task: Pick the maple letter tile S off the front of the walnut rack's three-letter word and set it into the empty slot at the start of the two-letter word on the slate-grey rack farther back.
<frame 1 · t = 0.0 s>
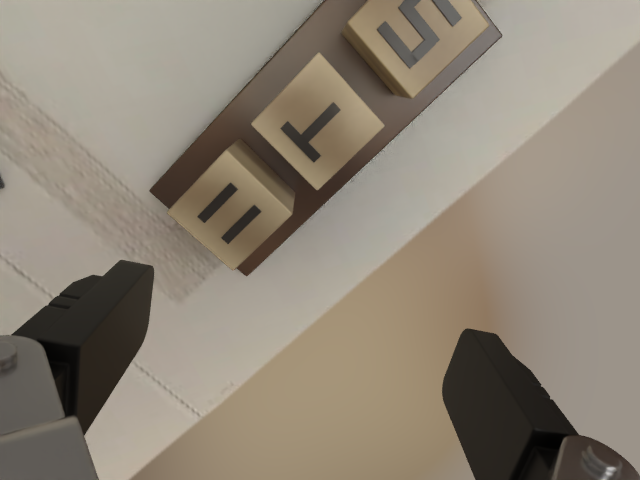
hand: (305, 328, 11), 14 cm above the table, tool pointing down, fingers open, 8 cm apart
letter S: (399, 33, 21), point 1 cm above the table, touching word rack
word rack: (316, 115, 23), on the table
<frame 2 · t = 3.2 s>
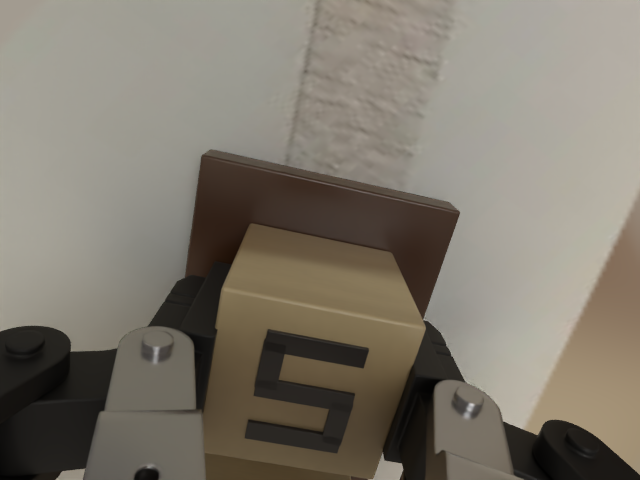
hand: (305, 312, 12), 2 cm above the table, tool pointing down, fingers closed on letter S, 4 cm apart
letter S: (306, 301, 13), point 1 cm above the table, touching gripper, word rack
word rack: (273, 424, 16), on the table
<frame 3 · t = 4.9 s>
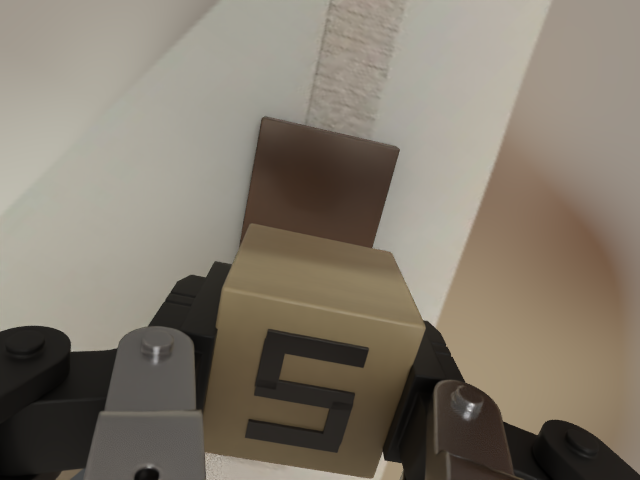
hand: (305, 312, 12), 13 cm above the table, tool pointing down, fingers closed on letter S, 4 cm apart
letter S: (306, 300, 13), point 12 cm above the table, touching gripper
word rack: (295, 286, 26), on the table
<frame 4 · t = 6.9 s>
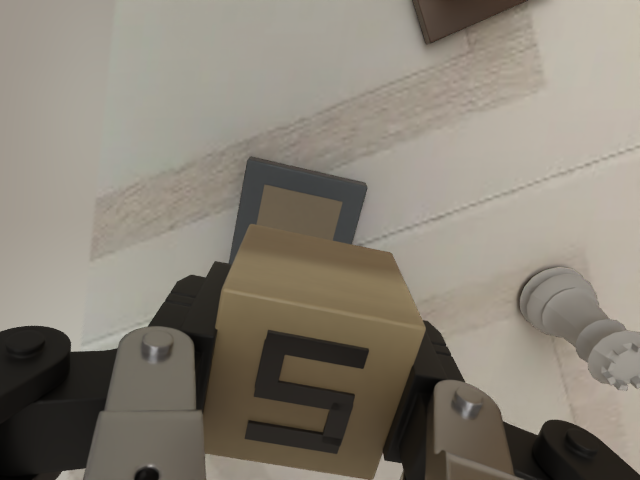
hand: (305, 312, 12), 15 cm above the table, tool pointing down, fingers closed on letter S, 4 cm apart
letter S: (306, 301, 13), point 15 cm above the table, touching gripper
rook chess piece: (548, 293, 30), on the table
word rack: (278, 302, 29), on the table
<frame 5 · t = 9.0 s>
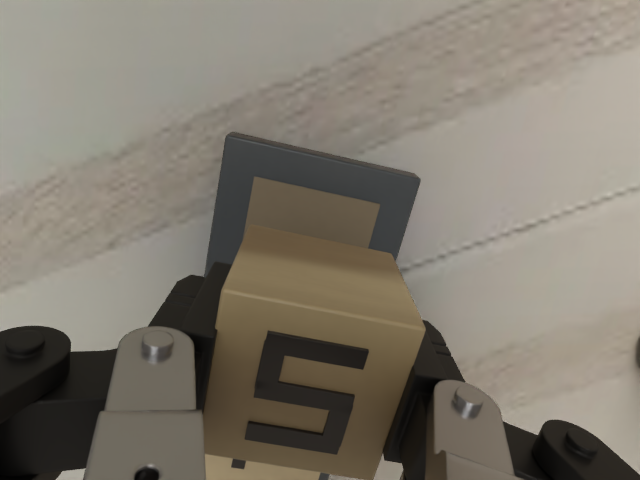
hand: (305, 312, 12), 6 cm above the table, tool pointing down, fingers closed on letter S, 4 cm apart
letter S: (306, 301, 13), point 5 cm above the table, touching gripper
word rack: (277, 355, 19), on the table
when the fingers open (2 cm above the table, at t = 10.5 s): letter S stays where it is, resting on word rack.
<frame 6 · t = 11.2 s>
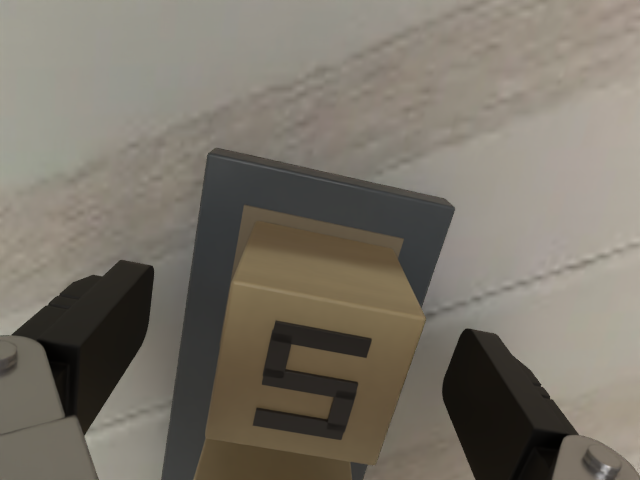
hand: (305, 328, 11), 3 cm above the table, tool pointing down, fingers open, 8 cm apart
letter S: (310, 296, 13), point 1 cm above the table, touching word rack
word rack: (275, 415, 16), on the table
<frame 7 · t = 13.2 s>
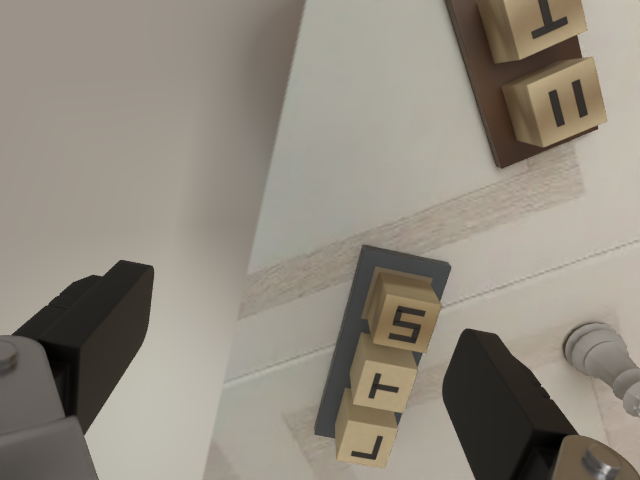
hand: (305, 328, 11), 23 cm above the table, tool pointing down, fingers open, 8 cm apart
letter S: (397, 299, 35), point 1 cm above the table, touching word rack
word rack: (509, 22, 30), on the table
rook chess piece: (587, 342, 38), on the table
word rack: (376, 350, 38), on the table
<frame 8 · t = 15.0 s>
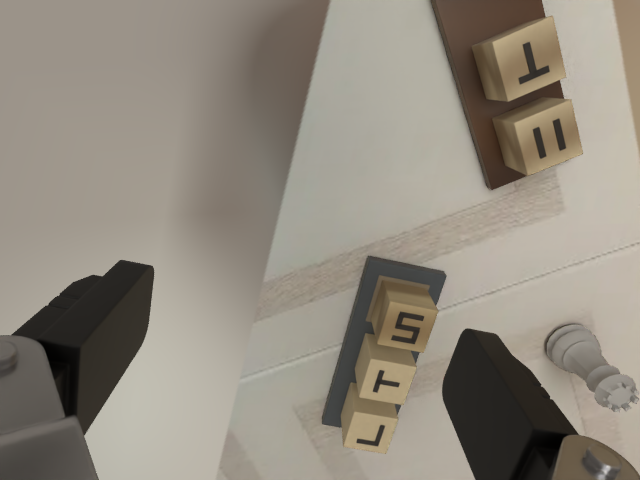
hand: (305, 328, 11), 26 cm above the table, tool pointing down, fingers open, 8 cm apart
letter S: (398, 304, 39), point 1 cm above the table, touching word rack
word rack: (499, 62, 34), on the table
rook chess piece: (566, 341, 42), on the table
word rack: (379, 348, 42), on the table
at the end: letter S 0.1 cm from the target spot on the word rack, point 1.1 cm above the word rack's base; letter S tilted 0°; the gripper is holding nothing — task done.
